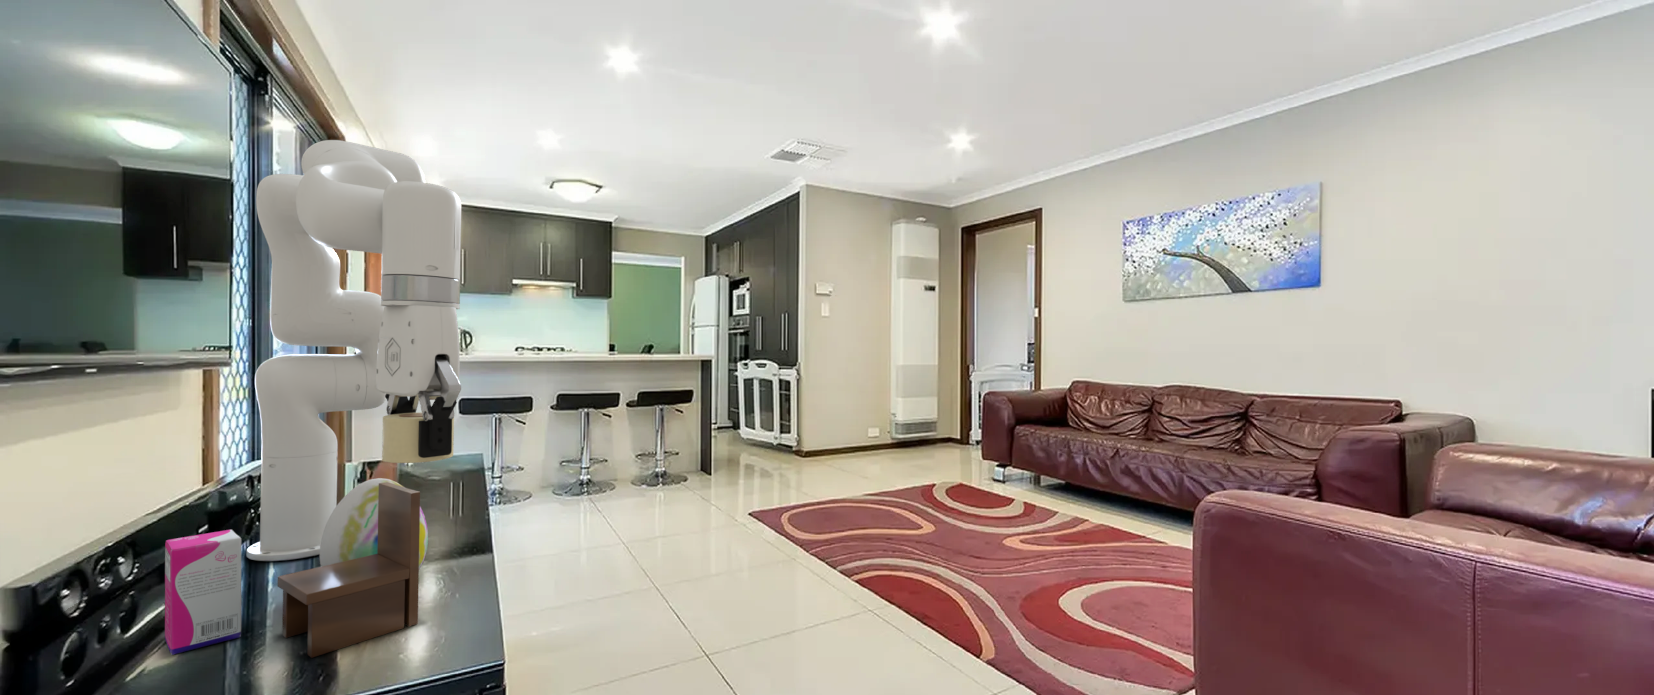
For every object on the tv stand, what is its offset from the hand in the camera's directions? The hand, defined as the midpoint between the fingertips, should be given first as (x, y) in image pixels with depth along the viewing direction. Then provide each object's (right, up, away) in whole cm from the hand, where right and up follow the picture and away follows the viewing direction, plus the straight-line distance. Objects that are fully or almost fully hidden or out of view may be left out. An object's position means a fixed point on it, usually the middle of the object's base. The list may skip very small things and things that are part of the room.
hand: (418, 451), depth 72 cm
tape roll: (0, -1, 0) cm, 1 cm away
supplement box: (-25, -22, 0) cm, 33 cm away
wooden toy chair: (-10, -22, +3) cm, 24 cm away
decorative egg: (-17, -22, +16) cm, 32 cm away
